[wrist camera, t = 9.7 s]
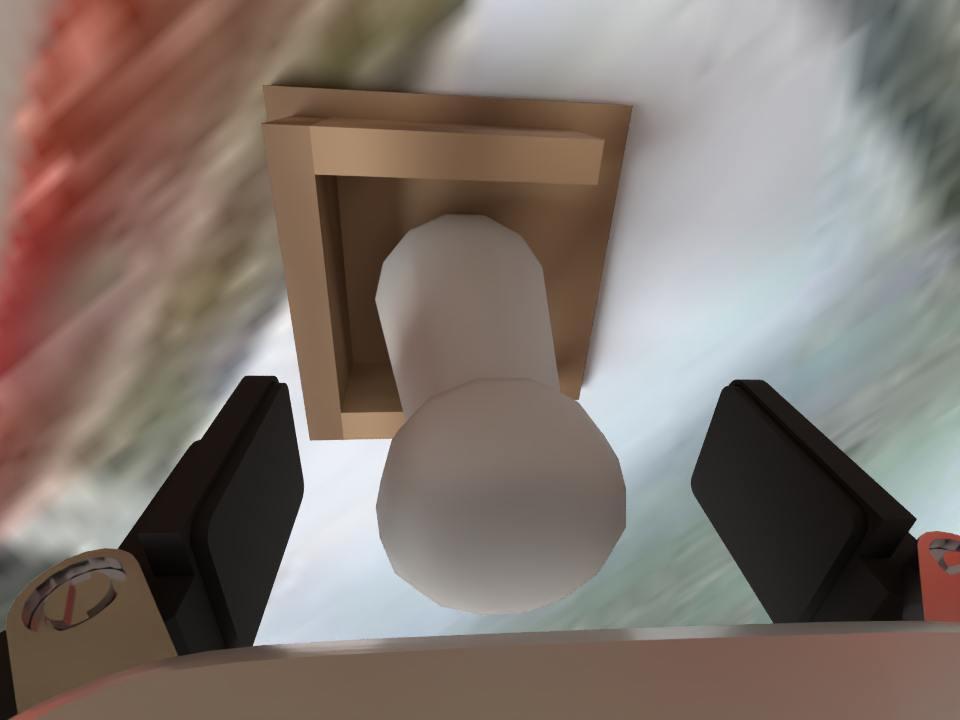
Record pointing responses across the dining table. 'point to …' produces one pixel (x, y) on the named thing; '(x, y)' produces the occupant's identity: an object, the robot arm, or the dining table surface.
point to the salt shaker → (487, 429)
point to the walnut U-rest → (416, 200)
